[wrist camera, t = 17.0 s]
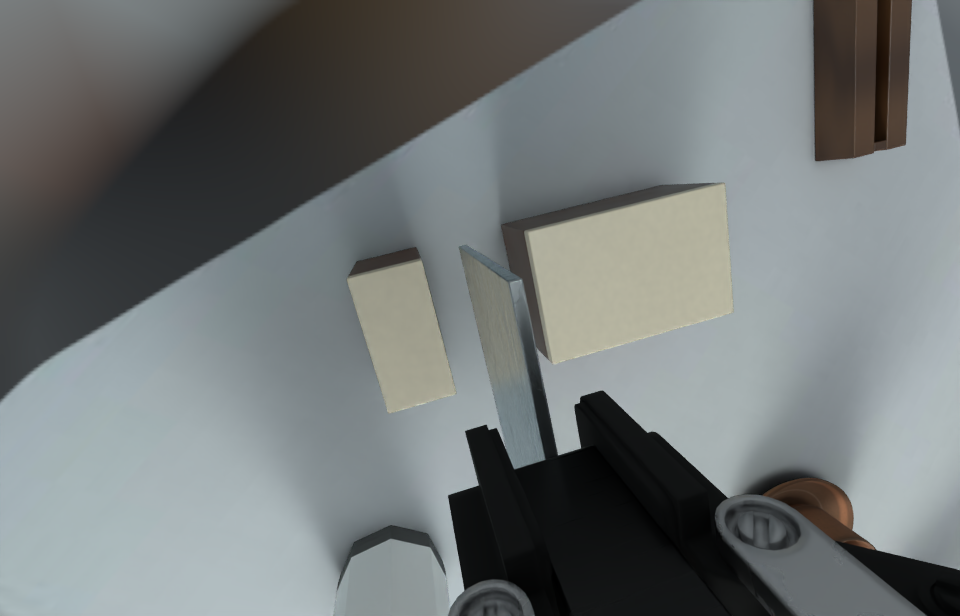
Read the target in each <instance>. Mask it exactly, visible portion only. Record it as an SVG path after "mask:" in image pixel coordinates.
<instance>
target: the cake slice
mask: <svg viewBox="0 0 960 616" xmlns="http://www.w3.org/2000/svg"><path fill="white" fill-rule="evenodd" d="M347 283H348V286H349V289H350V292H351V296H352V299H353V302H354V305H355V308H356V311H357V315H358V318H359V321H360V324H361V327H362V331H363V334H364V337H365V340H366V343H367V347H368V350H369V353H370V356H371V359H372V363H373V366H374V369H375V372H376V375H377V379H378V382H379V385H380V388H381V391H382V395H383V398H384V401H385V404H386V407H387V411H388V413H393V412H396V411H400V410H403V409H407V408H410V407H414V406H417V405H421V404H424V403H428V402H431V401H435V400H438V399H441V398H445V397H448V396H452V395H455V394H456V389H455V385H454V381H453V378H452V374H451V370H450V366H449V362H448V358H447V355H446V351H445V347H444V343H443V339H442V336H441V332H440V328H439V324H438V320H437V316H436V313H435V309H434V305H433V301H432V297H431V293H430V290H429V286H428V282H427V278H426V274H425V271H424V267H423V263H422V260H421V257H420V255H419V253H418V250H417V248H416V247H414V248H410V249H406V250H402V251H398V252H394V253H390V254H385V255H381V256H377V257H373V258H369V259H365V260H361V261H357V262H356V264H355V265H354V267H353V269H352V271H351V272H350V274H349V276H348V278H347Z"/></svg>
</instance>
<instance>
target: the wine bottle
mask: <svg viewBox="0 0 960 616" xmlns="http://www.w3.org/2000/svg"><path fill="white" fill-rule="evenodd" d="M449 611H450V602H449V594H448V587H447V580H446V573H445V568H444V565H443V562H442V560H441V558H440V556H439V554H438V552H437V550H436V549H435V547H434V545H433V543H432V541H431V539H430V537H429V535H428V534H426V533H422V532H418V531H413V530H409V529H405V528H400V527H396V526H392V525H391V526H389V527H387V528H384V529H382V530H380V531H378V532H376V533H374V534H372V535H369V536H367V537H365V538H363V539H361V540H359V541H357V542H354V545H353V547H352V549H351V552H350V554H349V557H348V559H347V561H346V564H345V566H344V568H343V571H342V573H341V576H340V579H339V582H338V588H337V594H336V601H335V608H334V615H333V616H448V614H449Z"/></svg>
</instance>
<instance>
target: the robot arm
mask: <svg viewBox="0 0 960 616" xmlns="http://www.w3.org/2000/svg"><path fill="white" fill-rule="evenodd" d="M574 408H575V415H576V421H577V426H578V432H579V438H580V443H581V448H584V447H587V446H591V445H594V446H595V447H596V448H597V449H598V450H599V452H600V453H601V454H602V455H603V457H604V458H605V459H606V460H607V462H608V463H609V464H610V465H611V467H612V468H613V469H614V470H615V471H616V473H617V474H618V475H619V476H620V478H621V479H622V480H623V481H624V483H625V484H626V485H627V486H628V488H629V489H630V490H631V491H632V493H633V494H634V495H635V496H636V497H637V499H638V500H639V501H640V502H641V504H642V505H643V506H644V507H645V509H646V510H647V511H648V512H649V514H650V515H651V516H652V517H653V518H654V520H655V521H656V522H657V523H658V525H659V526H660V527H661V528H662V530H663V531H664V532H665V533H666V534H667V535H668V537H669V538H670V539H671V540H672V541H673V543H674V544H675V545H676V546H677V548H678V549H679V550H680V551H681V553H682V554H683V555H684V556H685V557H686V559H687V560H688V561H689V562H690V564H691V565H692V566H693V567H694V569H695V570H696V571H697V572H698V574H699V575H700V576H701V577H702V578H703V580H704V581H705V582H706V583H707V585H708V586H709V587H710V588H711V590H712V591H713V592H714V593H715V594H716V596H717V597H718V598H719V599H720V601H721V602H722V603H723V604H724V606H725V607H726V608H727V609H728V611H729V612H730V613H731V614H732V615H733V616H960V570H957V569H953V568H949V567H944V566H940V565H936V564H932V563H928V562H923V561H919V560H915V559H911V558H907V557H902V556H898V555H894V554H890V553H885V552H881V551H877V550H873V549H869V548H864V547H860V546H856V545H852V544H848V543H843V542H839V541H835V540H833V539H831V538H830V537H829V536H828V535H826V534H825V533H824V532H823V531H821V530H820V529H819V528H818V527H817V526H815V525H814V524H813V523H812V522H810V521H809V520H808V519H807V518H805V517H804V516H803V515H802V514H800V513H799V512H798V511H797V510H795V509H793V508H792V507H790V506H789V505H787V504H786V503H783V502H781V501H778V500H776V499H773V498H770V497H766V496H761V495H747V494H743V495H738V496H733V497H730V498H727V497H726V496H725V495H724V494H723V493H722V492H721V491H720V490H719V489H718V488H716V487H715V486H714V485H713V484H712V483H711V482H710V481H709V480H708V479H707V478H706V477H705V476H704V475H702V474H701V473H700V472H699V471H698V470H697V469H696V468H695V467H694V466H693V465H692V464H691V463H689V462H688V461H687V460H686V459H685V458H684V457H683V456H682V455H681V454H680V453H679V452H678V451H677V450H675V449H674V448H673V447H672V446H671V445H670V444H669V443H668V442H667V441H666V440H665V439H664V438H662V437H661V436H660V435H659V434H657V433H656V432H649V433H647V432H646V431H645V430H644V429H643V428H642V427H641V426H640V425H639V424H637V423H636V422H635V421H634V420H633V419H632V418H631V417H630V416H629V415H628V414H627V413H626V412H625V411H624V410H623V409H622V408H621V407H620V406H619V405H618V404H617V403H616V402H615V401H614V400H613V399H612V398H610V397H609V396H608V395H607V394H606V393H605V392H604V391H598V392H595V393H591V394H588V395H585V396H581V398H580V403H578V404H575V407H574ZM465 433H466V437H467V441H468V445H469V448H470V452H471V456H472V460H473V464H474V468H475V472H476V475H477V479H478V483H479V486H476V487H473V488H470V489H467V490H463V491H460V492H457V493H454V494H451V495H448V498H449V504H450V510H451V516H452V521H453V527H454V533H455V538H456V544H457V550H458V555H459V561H460V567H461V572H462V578H463V584H464V589H465V591H464V592H463V593H462V594H461V595H459V596H458V598H457V599H456V601H455V602H454V603H453V605H452V606H451V608H450V611H449V614H448V616H560V614H559V609H558V605H557V600H556V596H555V591H554V587H553V582H552V573H553V571H552V566H551V561H550V557H549V553H548V550H547V547H546V544H545V541H544V538H543V535H542V532H541V530H540V528H539V525H538V523H537V521H536V518H535V516H534V514H533V511H532V509H531V507H530V504H529V502H528V500H527V498H526V495H525V493H524V491H523V488H522V486H521V484H520V481H519V479H518V477H517V474H516V472H515V470H514V467H513V465H512V463H511V460H510V458H509V456H508V453H507V451H506V449H505V446H504V444H503V442H502V439H501V437H500V435H499V432H498V430H497V428H495V429H491V430H488V427H487V425H484V426H480V427H477V428H473V429H470V430H467V431H465Z"/></svg>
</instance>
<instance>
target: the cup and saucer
mask: <svg viewBox="0 0 960 616" xmlns="http://www.w3.org/2000/svg"><path fill="white" fill-rule="evenodd" d="M762 496H766V497H770V498H773V499H776V500H778V501H781V502H783V503H786V504H787V505H789V506H790V507H792V508H793V509H795V510H797V511H798V512H799V513H800V514H802V515H803V516H804V517H805V518H807V519H808V520H809V521H810V522H812V523H813V524H814V525H815V526H817V527H818V528H819V529H820V530H821V531H823V532H824V533H825V534H826V535H828V536H829V537H830V538H831V539H833V540H835V541H839V542H843V543H848V544H852V545H856V546H860V547H864V548H869V549H873V550H876V549H875V547H874V546H873V545H872V544H870V543H869V542H868V541H866V540H865V539H864V538H862V537H861V536H859V535H858V534H857V533H855V532H854V531H852V529H853V509H852V505H851V502H850V500H849V498H848V496H847V495H846V494H845V492H844V491H843V490H842V489H840V488H839V487H838V486H836V485H834V484H832V483H830V482H828V481H825V480H822V479H817V478H801V479H796V480H792V481H788V482H785V483H782V484H780V485H777V486H775V487H774V488H772V489H770V490H768V491H767V492H766V493H764V494H763V495H762Z"/></svg>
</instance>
